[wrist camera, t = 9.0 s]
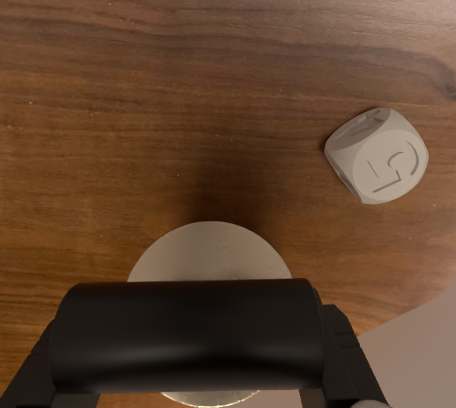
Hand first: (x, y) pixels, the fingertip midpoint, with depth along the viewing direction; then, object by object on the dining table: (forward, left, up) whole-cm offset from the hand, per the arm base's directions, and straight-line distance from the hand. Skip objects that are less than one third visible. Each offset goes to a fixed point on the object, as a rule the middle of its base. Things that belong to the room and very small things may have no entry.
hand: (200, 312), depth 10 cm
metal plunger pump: (+10, 0, -14) cm, 17 cm away
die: (-1, +12, -17) cm, 21 cm away
